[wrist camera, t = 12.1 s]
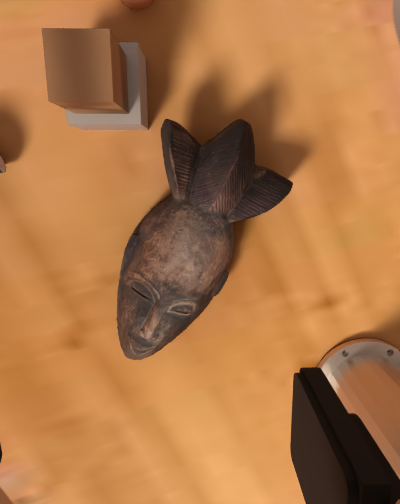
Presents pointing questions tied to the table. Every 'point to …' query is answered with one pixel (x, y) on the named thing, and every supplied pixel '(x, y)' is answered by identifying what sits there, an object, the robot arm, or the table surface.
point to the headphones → (2, 165)
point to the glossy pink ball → (137, 3)
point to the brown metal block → (85, 70)
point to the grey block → (136, 99)
